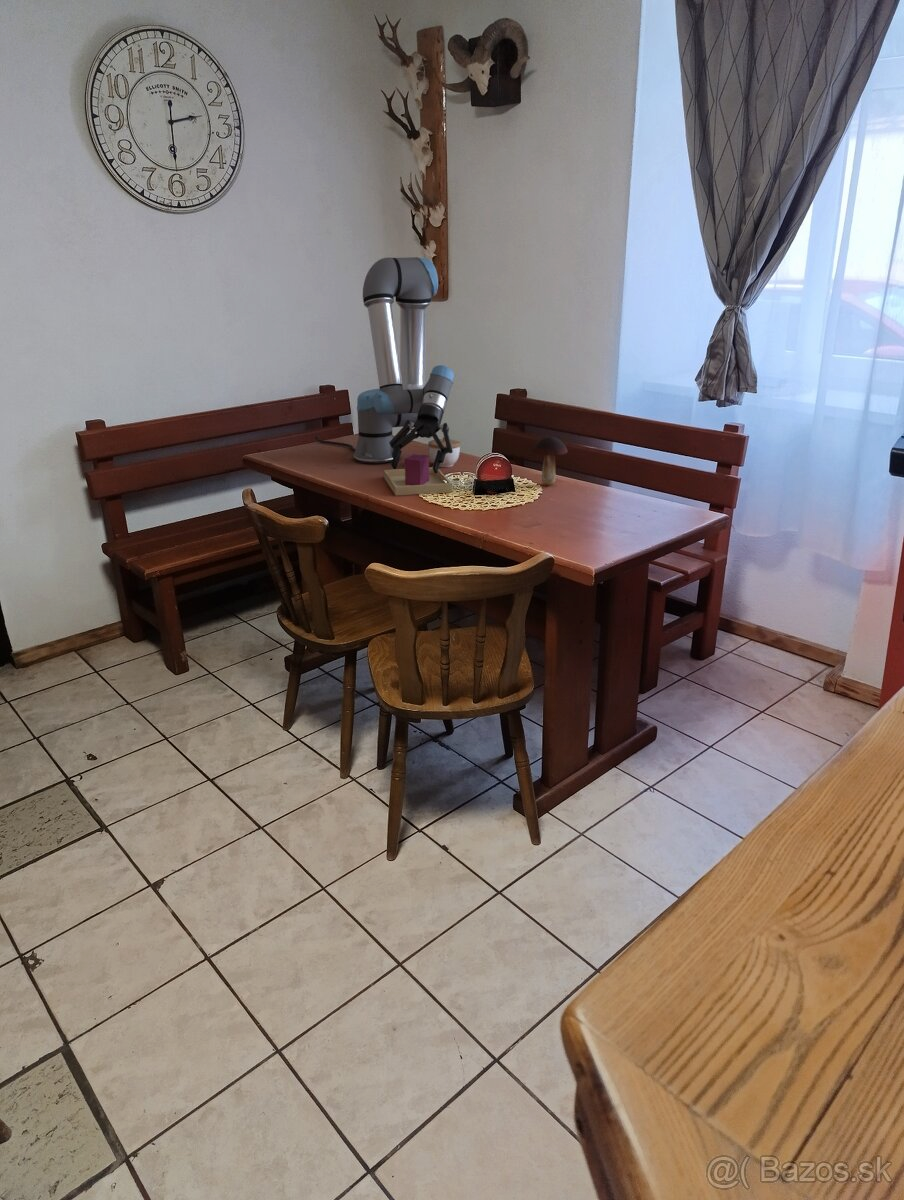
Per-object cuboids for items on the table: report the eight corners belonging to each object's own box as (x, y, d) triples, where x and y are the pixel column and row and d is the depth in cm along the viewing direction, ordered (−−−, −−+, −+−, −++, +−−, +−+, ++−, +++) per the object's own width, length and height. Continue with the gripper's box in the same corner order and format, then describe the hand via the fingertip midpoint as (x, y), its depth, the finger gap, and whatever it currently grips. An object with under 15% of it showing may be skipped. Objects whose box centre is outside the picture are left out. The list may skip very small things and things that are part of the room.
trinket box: (437, 470, 268) (437, 441, 264) (423, 463, 276) (422, 436, 273) (465, 466, 272) (466, 438, 268) (451, 460, 281) (451, 433, 277)
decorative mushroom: (570, 488, 246) (573, 439, 240) (536, 490, 244) (538, 441, 238) (558, 479, 256) (561, 432, 250) (525, 481, 254) (527, 433, 248)
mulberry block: (414, 479, 254) (413, 454, 251) (429, 480, 253) (428, 455, 249) (405, 484, 248) (404, 459, 245) (420, 486, 247) (419, 460, 243)
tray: (384, 478, 258) (383, 470, 257) (436, 474, 262) (436, 467, 261) (395, 495, 239) (395, 487, 238) (452, 492, 243) (452, 483, 242)
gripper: (391, 401, 254) (372, 458, 247) (466, 406, 246) (449, 465, 239) (398, 415, 261) (380, 472, 254) (472, 420, 253) (455, 479, 246)
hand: (413, 469), depth 246 cm, fingers open, 13 cm apart
